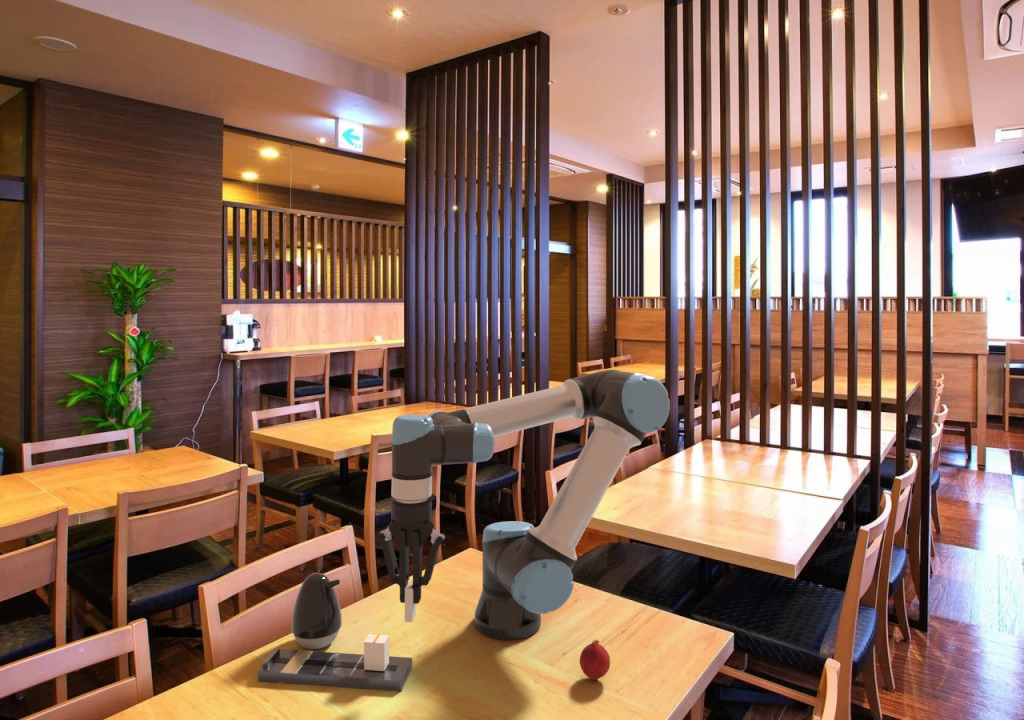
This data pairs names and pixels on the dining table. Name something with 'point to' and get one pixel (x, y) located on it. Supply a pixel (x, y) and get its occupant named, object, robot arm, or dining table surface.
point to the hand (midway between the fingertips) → (410, 618)
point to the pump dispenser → (316, 612)
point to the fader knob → (376, 652)
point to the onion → (594, 660)
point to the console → (332, 670)
